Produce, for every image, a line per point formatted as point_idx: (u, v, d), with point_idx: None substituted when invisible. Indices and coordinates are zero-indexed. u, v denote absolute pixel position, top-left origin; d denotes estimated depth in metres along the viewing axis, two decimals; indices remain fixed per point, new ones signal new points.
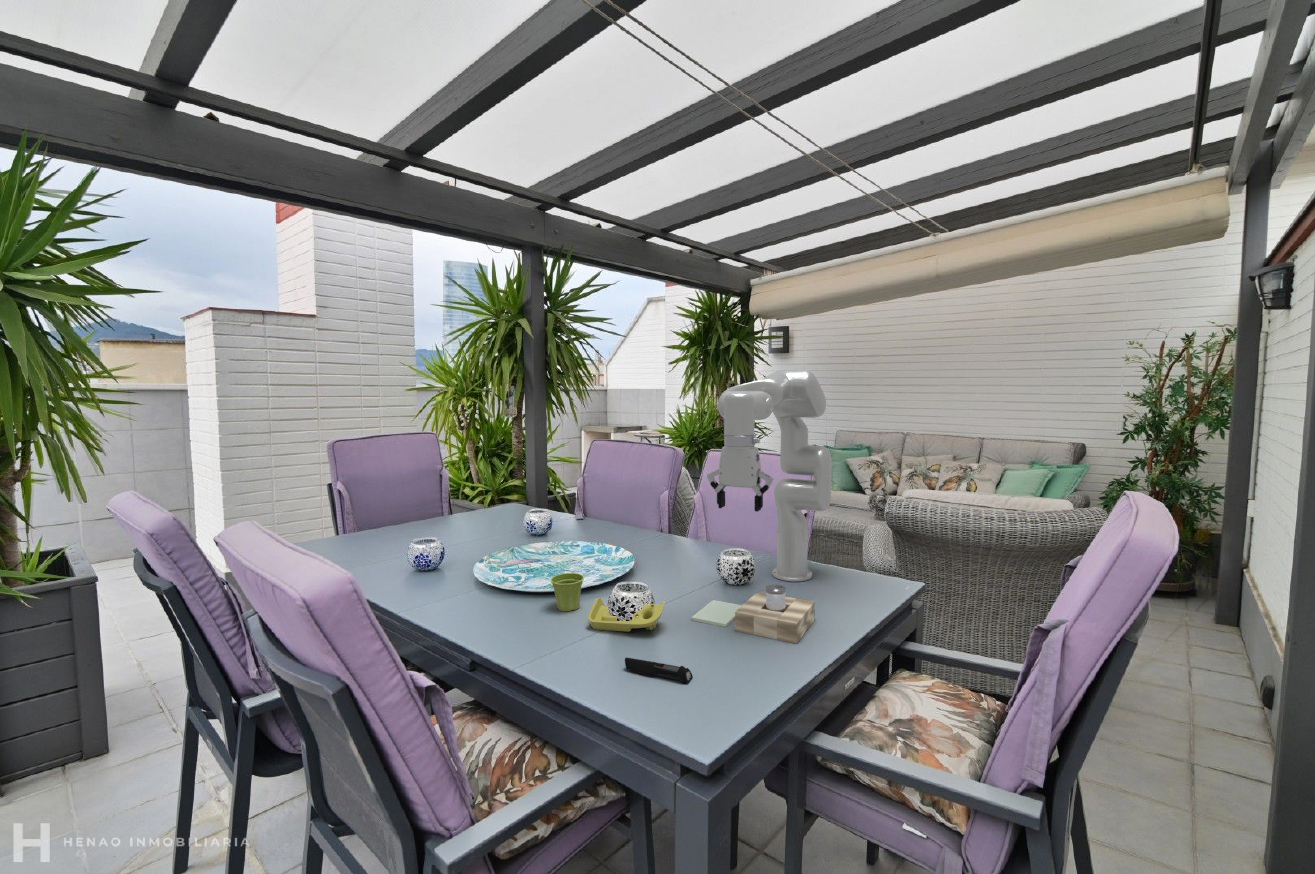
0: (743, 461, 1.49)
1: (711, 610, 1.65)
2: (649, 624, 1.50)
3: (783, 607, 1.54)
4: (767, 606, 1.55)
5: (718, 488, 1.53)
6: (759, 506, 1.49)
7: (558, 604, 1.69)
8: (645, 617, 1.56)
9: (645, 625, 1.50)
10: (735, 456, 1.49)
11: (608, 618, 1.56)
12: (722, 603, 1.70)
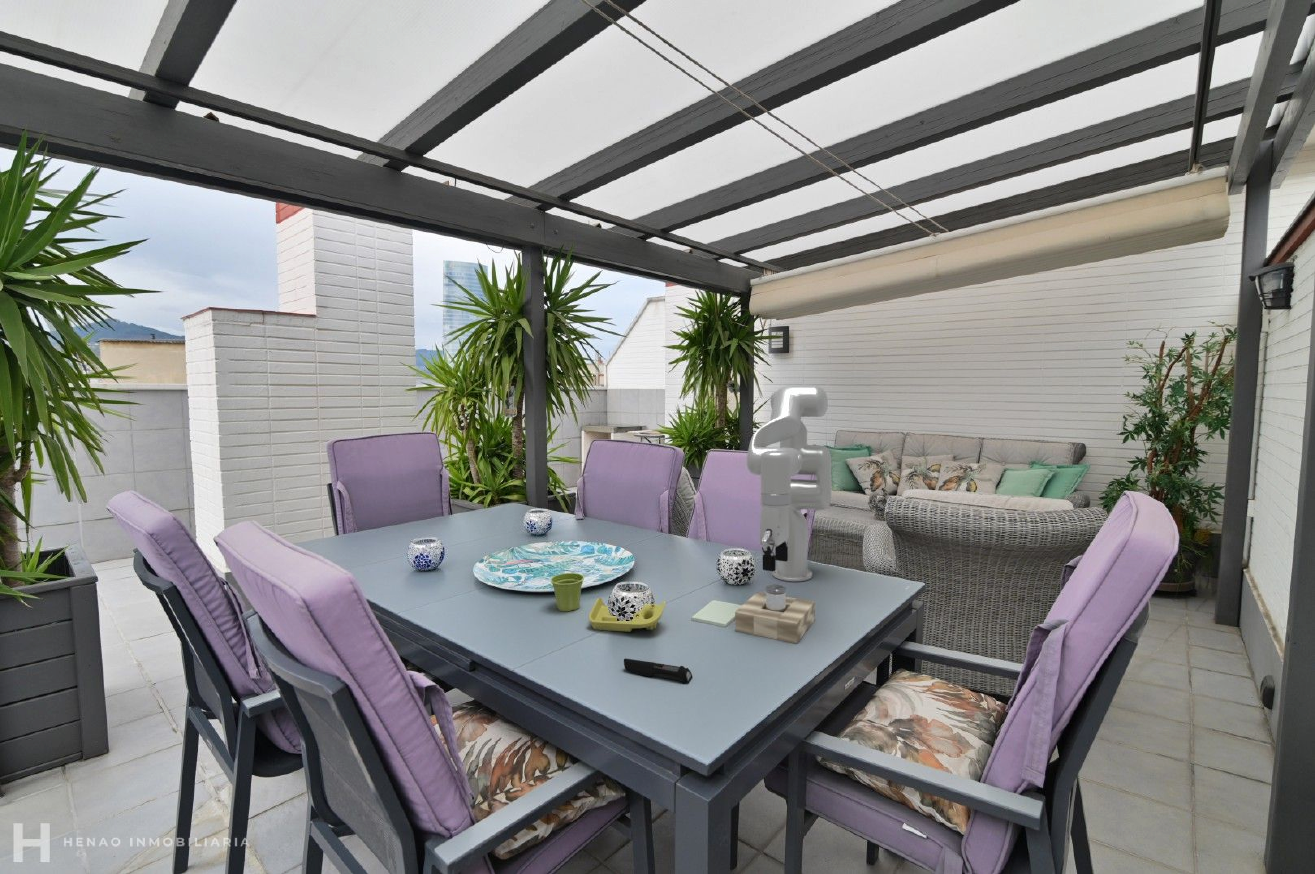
0: (787, 516, 1.54)
1: (711, 610, 1.65)
2: (649, 624, 1.50)
3: (783, 607, 1.54)
4: (767, 606, 1.55)
5: (773, 551, 1.49)
6: None
7: (558, 604, 1.69)
8: (645, 617, 1.56)
9: (645, 625, 1.50)
10: (785, 513, 1.52)
11: (608, 618, 1.56)
12: (722, 603, 1.70)
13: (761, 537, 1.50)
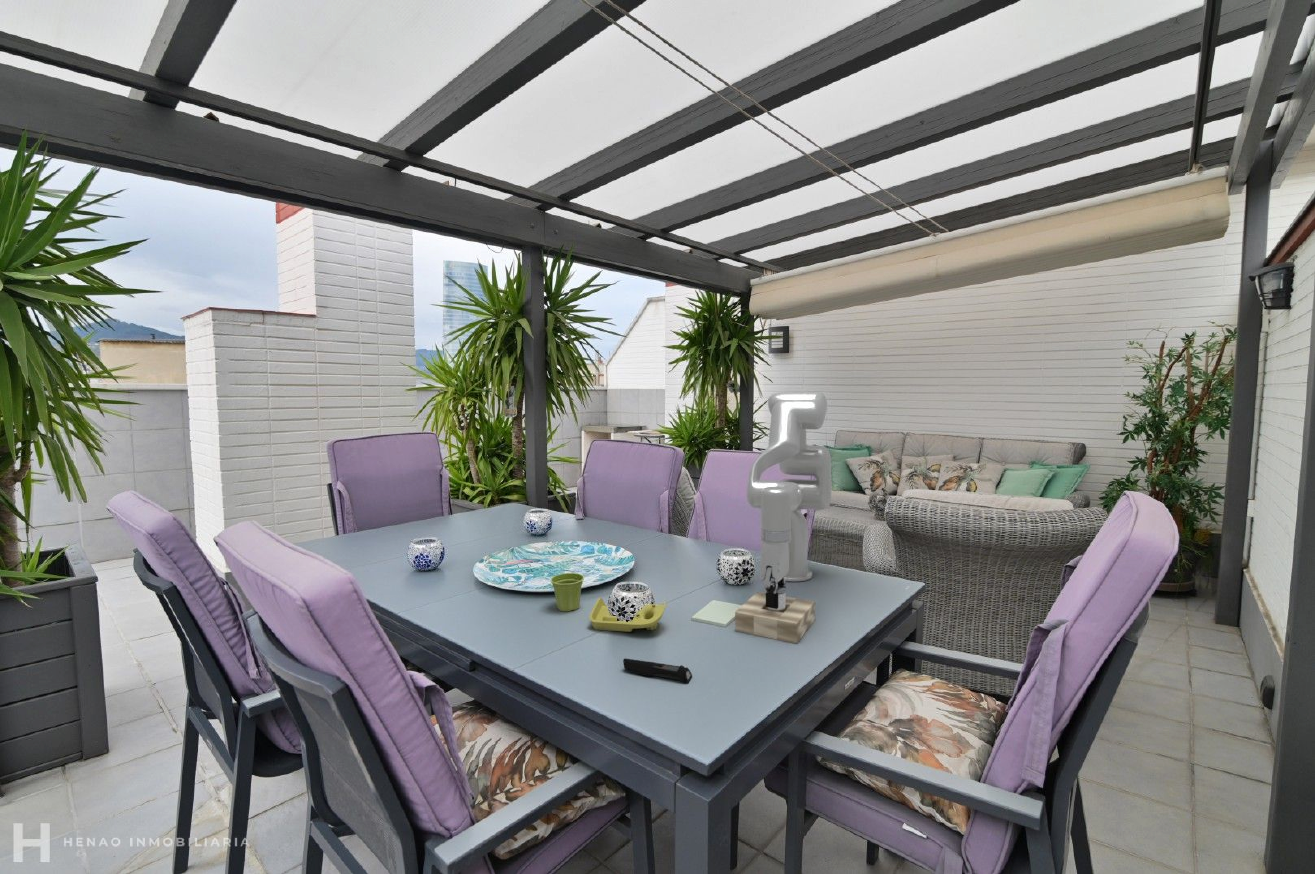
0: (787, 551, 1.55)
1: (711, 610, 1.65)
2: (650, 624, 1.50)
3: (783, 607, 1.54)
4: None
5: (776, 589, 1.52)
6: None
7: (558, 604, 1.69)
8: (646, 617, 1.56)
9: (646, 625, 1.50)
10: (785, 549, 1.53)
11: (609, 618, 1.56)
12: (722, 603, 1.70)
13: (761, 573, 1.51)
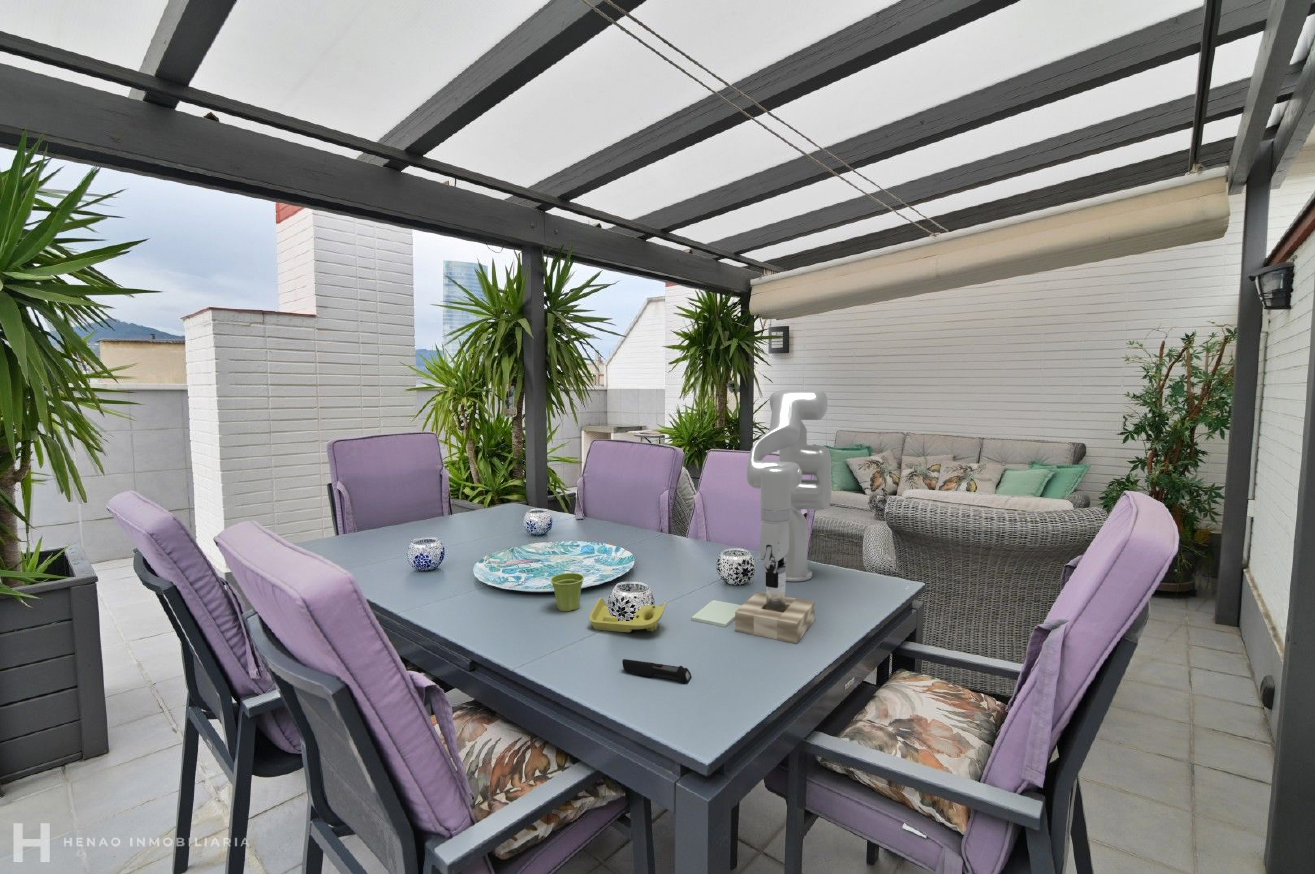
0: (787, 531, 1.54)
1: (711, 610, 1.65)
2: (649, 625, 1.49)
3: (783, 586, 1.54)
4: None
5: (776, 568, 1.51)
6: None
7: (558, 604, 1.69)
8: (646, 618, 1.55)
9: (645, 626, 1.50)
10: (785, 528, 1.52)
11: (609, 618, 1.56)
12: (722, 603, 1.70)
13: (761, 552, 1.51)
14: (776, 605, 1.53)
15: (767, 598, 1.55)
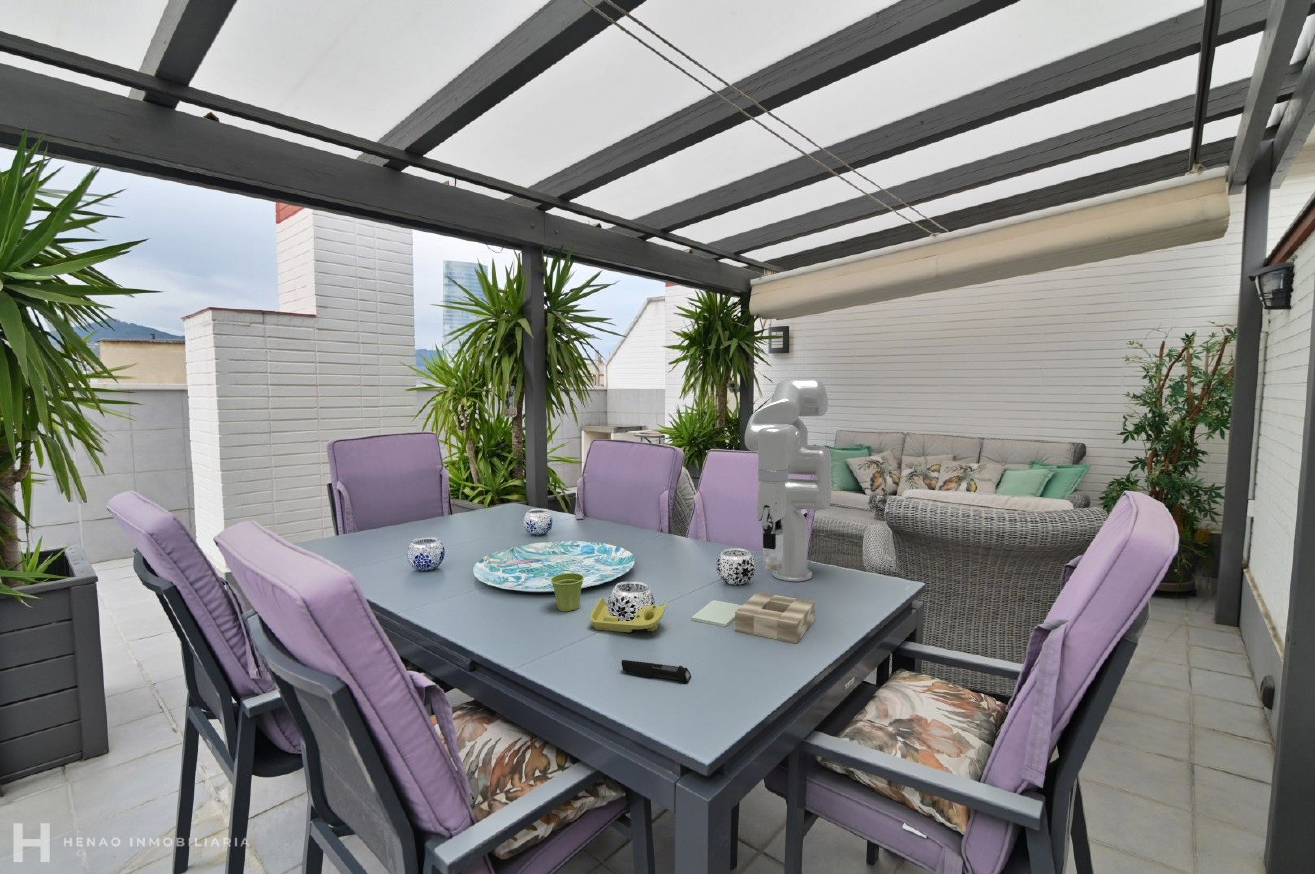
0: (784, 492, 1.54)
1: (711, 610, 1.65)
2: (649, 625, 1.49)
3: (780, 548, 1.53)
4: (764, 548, 1.54)
5: (773, 529, 1.50)
6: None
7: (558, 604, 1.69)
8: (647, 618, 1.55)
9: (645, 626, 1.50)
10: (782, 489, 1.52)
11: (610, 618, 1.56)
12: (722, 603, 1.70)
13: (759, 513, 1.50)
14: (773, 567, 1.53)
15: (764, 560, 1.54)
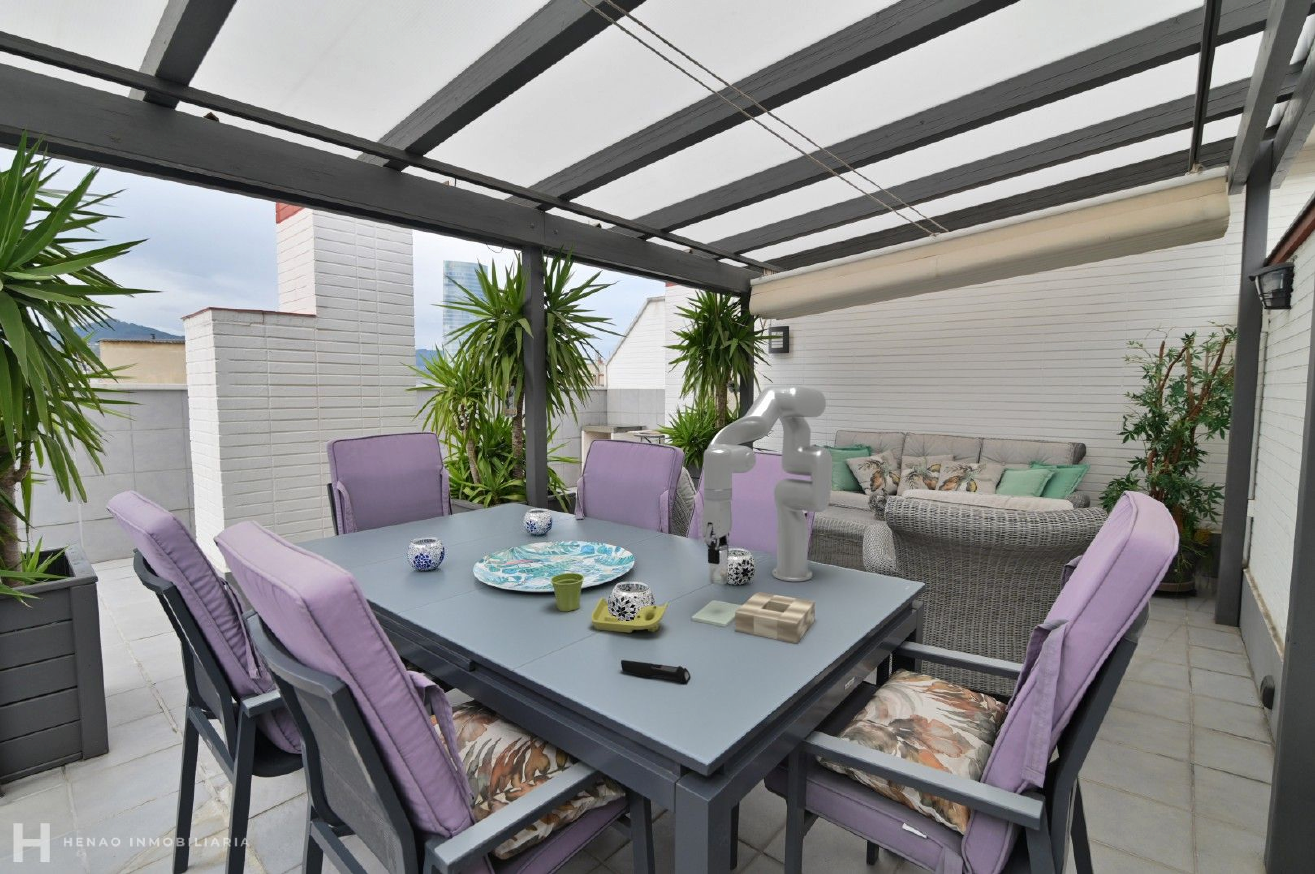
0: (729, 510, 1.62)
1: (711, 610, 1.65)
2: (650, 626, 1.49)
3: (725, 563, 1.61)
4: None
5: (717, 545, 1.58)
6: None
7: (558, 604, 1.69)
8: (647, 618, 1.55)
9: (646, 627, 1.49)
10: (726, 507, 1.60)
11: (610, 618, 1.56)
12: (722, 603, 1.70)
13: (703, 530, 1.58)
14: (717, 581, 1.61)
15: (710, 574, 1.62)
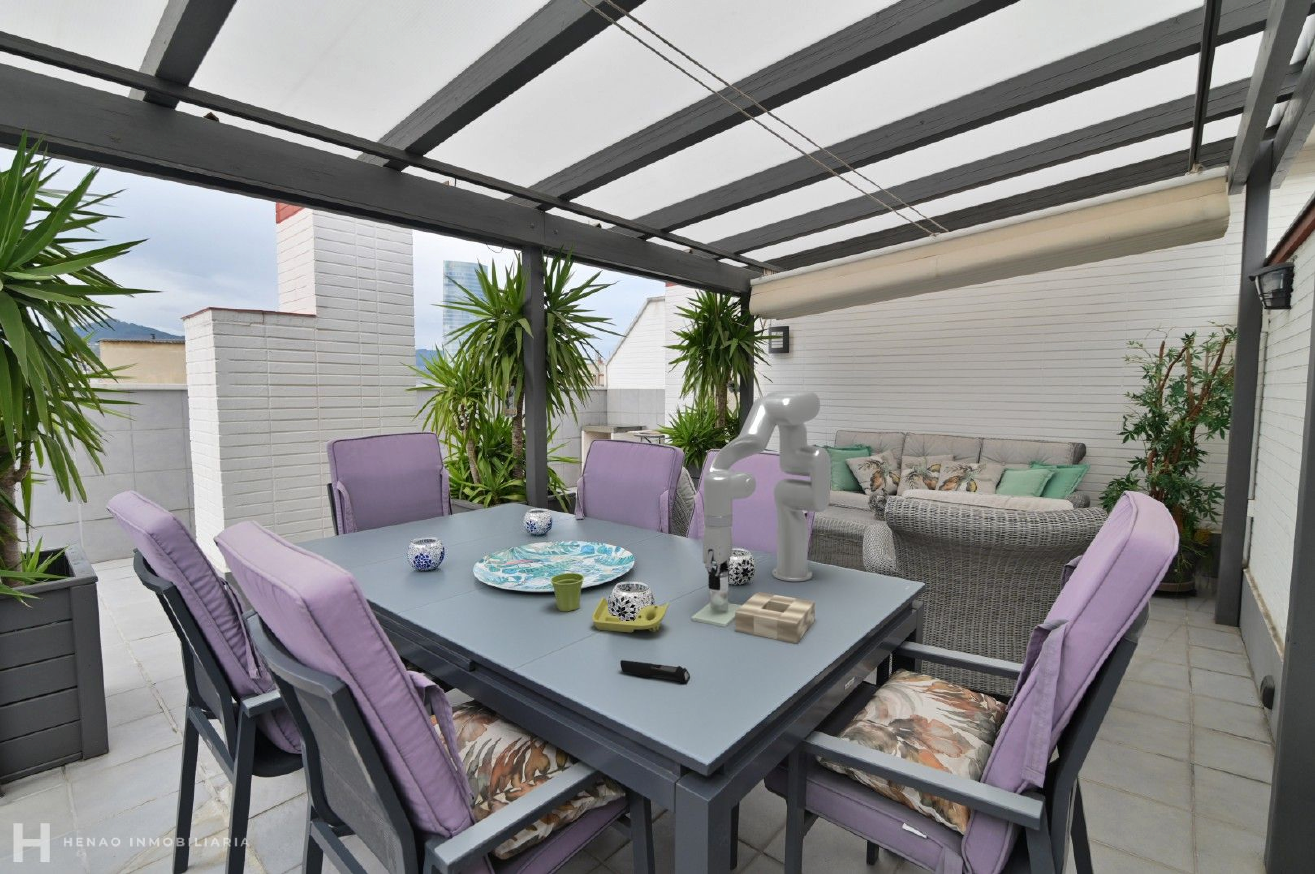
0: (729, 536, 1.63)
1: (711, 610, 1.65)
2: (651, 626, 1.49)
3: (725, 590, 1.62)
4: (710, 589, 1.63)
5: (718, 571, 1.59)
6: None
7: (558, 604, 1.69)
8: (648, 618, 1.55)
9: (647, 626, 1.49)
10: (727, 533, 1.61)
11: (611, 618, 1.56)
12: None
13: (704, 556, 1.59)
14: (718, 608, 1.61)
15: (711, 601, 1.63)
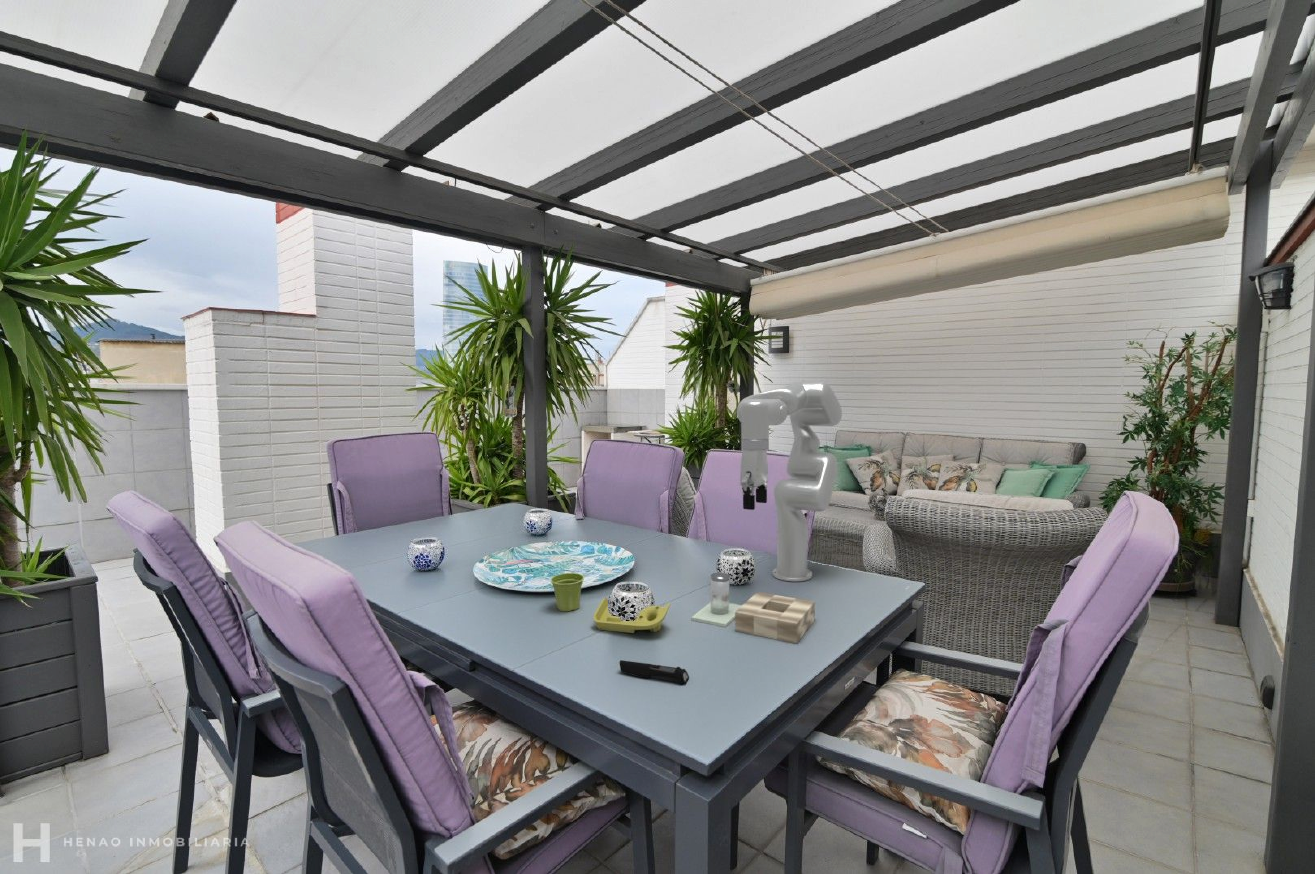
0: (765, 461, 1.68)
1: None
2: (652, 626, 1.49)
3: (727, 594, 1.62)
4: (712, 593, 1.62)
5: (753, 491, 1.63)
6: None
7: (558, 604, 1.69)
8: (650, 619, 1.55)
9: (648, 627, 1.49)
10: (763, 457, 1.66)
11: (613, 619, 1.56)
12: None
13: (741, 479, 1.65)
14: (720, 612, 1.62)
15: (712, 605, 1.63)
